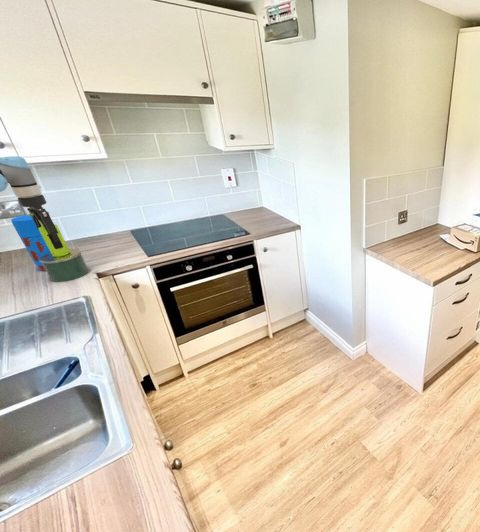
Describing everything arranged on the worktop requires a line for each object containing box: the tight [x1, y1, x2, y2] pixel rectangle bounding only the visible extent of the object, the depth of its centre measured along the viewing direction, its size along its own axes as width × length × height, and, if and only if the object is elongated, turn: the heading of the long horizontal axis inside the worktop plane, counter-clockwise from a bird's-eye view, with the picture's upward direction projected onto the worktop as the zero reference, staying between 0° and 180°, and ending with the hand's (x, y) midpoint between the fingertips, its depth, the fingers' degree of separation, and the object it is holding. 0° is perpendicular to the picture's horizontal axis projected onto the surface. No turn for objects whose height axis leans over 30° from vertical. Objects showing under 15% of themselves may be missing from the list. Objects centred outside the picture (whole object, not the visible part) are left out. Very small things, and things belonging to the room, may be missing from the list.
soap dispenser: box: [27, 213, 70, 257], centre depth 141 cm, size 6×7×20 cm
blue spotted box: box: [10, 214, 51, 272], centre depth 152 cm, size 11×11×25 cm
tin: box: [39, 248, 90, 283], centre depth 148 cm, size 14×14×10 cm
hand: (55, 246), depth 144 cm, fingers closed on soap dispenser, 6 cm apart
